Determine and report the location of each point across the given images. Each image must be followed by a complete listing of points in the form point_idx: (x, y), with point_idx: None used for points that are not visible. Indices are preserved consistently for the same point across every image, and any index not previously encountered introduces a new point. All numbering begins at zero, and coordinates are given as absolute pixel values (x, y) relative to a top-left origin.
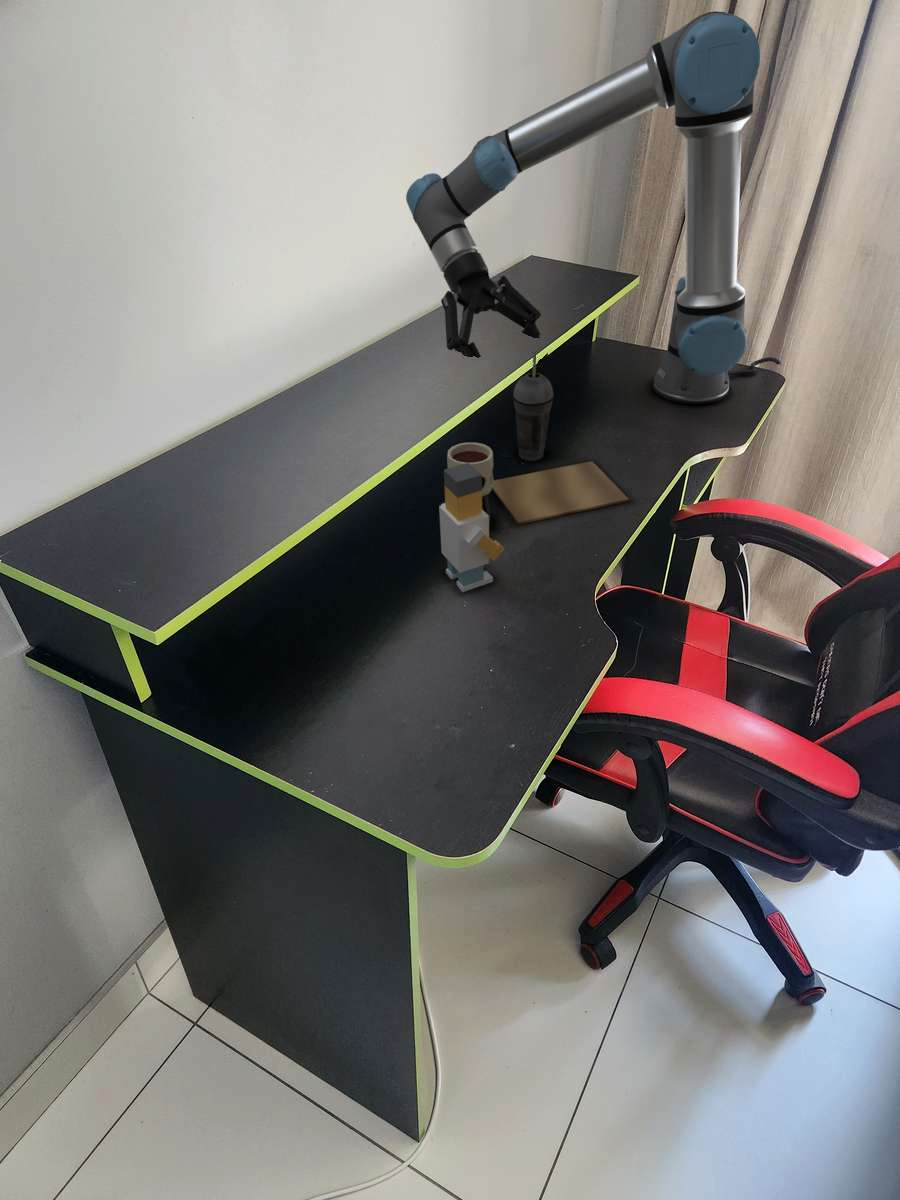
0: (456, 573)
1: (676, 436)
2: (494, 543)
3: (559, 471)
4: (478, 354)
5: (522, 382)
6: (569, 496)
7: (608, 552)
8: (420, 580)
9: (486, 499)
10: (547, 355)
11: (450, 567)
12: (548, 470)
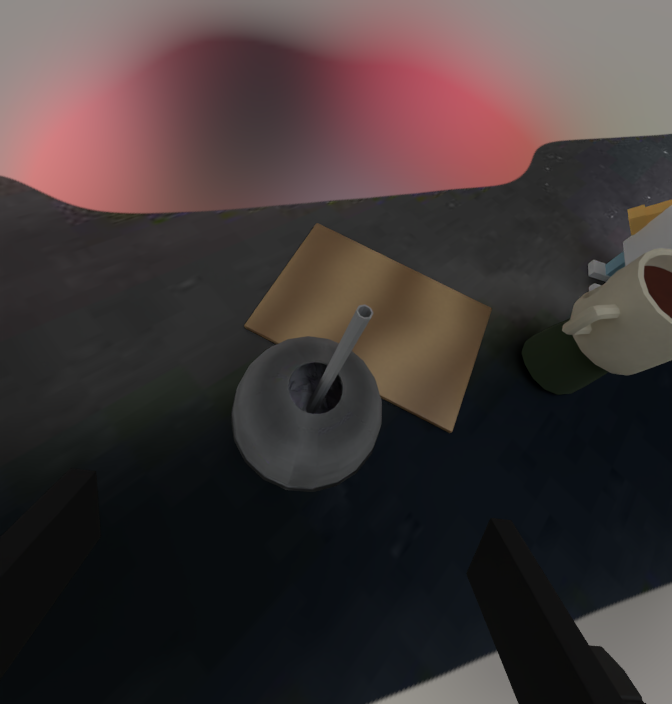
0: None
1: (25, 259)
2: (656, 204)
3: None
4: (581, 665)
5: (367, 411)
6: (378, 290)
7: (435, 197)
8: None
9: (568, 319)
10: (77, 471)
11: None
12: None
